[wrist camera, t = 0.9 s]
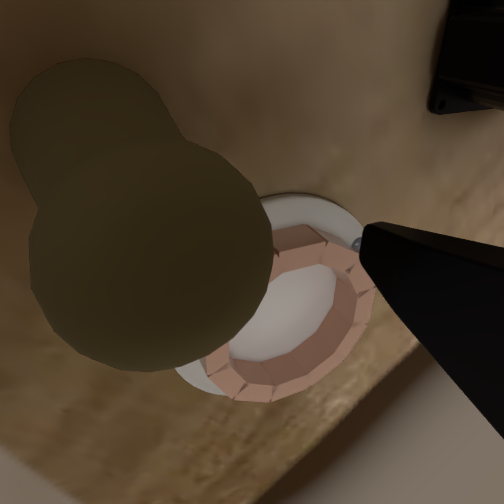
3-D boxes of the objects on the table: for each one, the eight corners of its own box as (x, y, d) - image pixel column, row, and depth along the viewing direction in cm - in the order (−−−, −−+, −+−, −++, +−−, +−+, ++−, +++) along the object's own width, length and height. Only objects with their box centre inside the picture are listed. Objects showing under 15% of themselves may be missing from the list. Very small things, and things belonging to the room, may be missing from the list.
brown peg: (155, 223, 19) (263, 404, 11) (0, 202, 16) (-17, 434, 8) (190, 86, 17) (360, 179, 9) (19, 32, 14) (25, 96, 6)
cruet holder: (380, 176, 24) (416, 195, 22) (349, 350, 31) (375, 378, 28) (146, 217, 19) (163, 246, 17) (170, 413, 26) (184, 452, 24)
